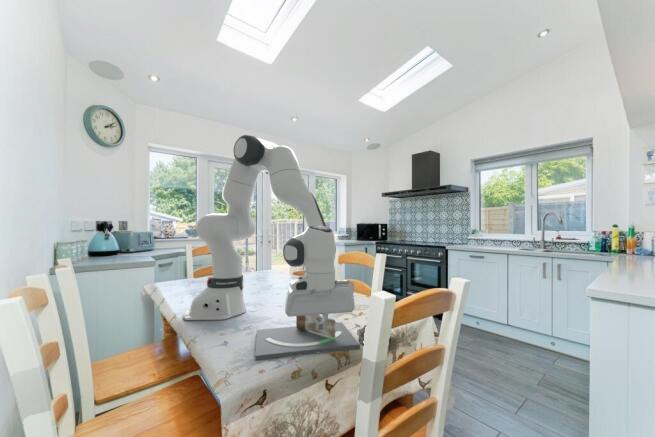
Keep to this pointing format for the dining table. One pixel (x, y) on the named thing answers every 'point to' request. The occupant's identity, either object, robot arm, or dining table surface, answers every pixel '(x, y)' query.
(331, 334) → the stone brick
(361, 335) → the egg carton
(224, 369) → the dining table surface
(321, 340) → the arc gauge board
